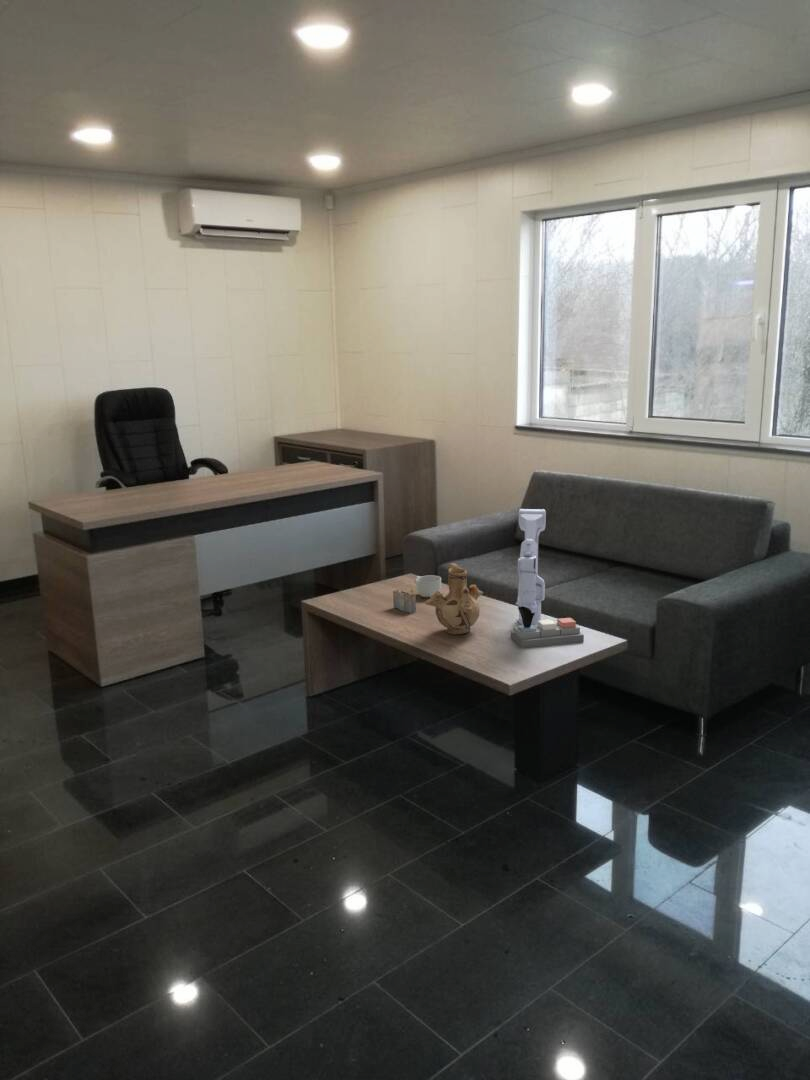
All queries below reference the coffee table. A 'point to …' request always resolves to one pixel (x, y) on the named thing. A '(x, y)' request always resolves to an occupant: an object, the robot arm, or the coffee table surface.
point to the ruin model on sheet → (405, 601)
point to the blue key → (528, 629)
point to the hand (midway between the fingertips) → (527, 626)
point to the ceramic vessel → (457, 602)
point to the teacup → (428, 585)
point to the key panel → (547, 636)
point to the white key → (546, 624)
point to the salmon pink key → (566, 623)
